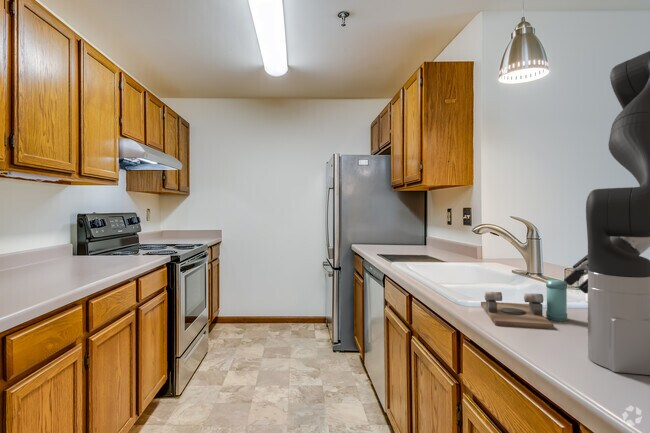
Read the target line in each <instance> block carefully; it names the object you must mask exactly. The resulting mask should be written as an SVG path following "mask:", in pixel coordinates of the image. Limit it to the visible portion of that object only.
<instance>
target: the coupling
mask: <svg viewBox="0 0 650 433" xmlns="http://www.w3.org/2000/svg"><path fill="white" fill-rule="evenodd" d="M545 287H546V311H545V317H546V319H548V320H550V321H551V320H552V321H557V322H566V321H568V312H567V305H568V303H567V301H568V300H567V294H568V292H567V291H568V290H567V289H568V284H567V282H566V281H564V280H563V279H562V280H561V279H547V280H546V281H545Z"/></svg>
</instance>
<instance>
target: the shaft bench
mask: <svg viewBox="0 0 650 433" xmlns="http://www.w3.org/2000/svg"><path fill="white" fill-rule="evenodd" d="M502 301H503V294H502V291H484V301H481V302H480V306H481V307H482V309H483V311H484V312H485V313H486V315H487V316H488V317H489V319H490V320H491V321H492V323H493V325H494V326H500V327H501V326H502V327H514V328H515V327H518V328H532V329H533V328H536V329H546V330H547V329H548V330H550V329H552V330H553V329H554V323H553V322H551V320H550V319H548V318H547V317H546V316H544V314H543V303H544V294H542V293H534V292H533V293H528V292H524V294H523V301H524V302H525V303H519V302H518V303H517V302H513V303H512V302H502Z"/></svg>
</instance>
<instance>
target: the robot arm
mask: <svg viewBox="0 0 650 433" xmlns="http://www.w3.org/2000/svg"><path fill="white" fill-rule="evenodd" d="M609 79H610V80H609V81H610V85H611V89H612V91H613V93H614V95H615V97H616V99H617V101H618V103H619V106H621V108H622V110H621V111H620V112H619V114H617V115H616V117H615V118H614V121H613V122H612V124H611V129H610V134H609V139H608V150H609V153H610V155H611V156H612V157H613V158H614V160H616V162H618V164H619V165H621V166H622V167H623V168H625V169H626V170H627V171H628V172H629V173H631V174H630V175H632V176H633V177H634V179H635V180H636V181H637V183H638V184H639V186H634V187H633V186H631V187H629V186H628V187H627V186H626V187H610V188H609V187H608V188H596V189H593V190H592V191H590V192H589V194H588V195H587V198H586V203H585V221H586V233H587V234H586V235H587V254H586V255H585V256H584V257H582V258H581V259H579V260H578V262H576V263H575V264H573V265H572V268H573V271H571V273H569V274H568V275H567V276H565V278H564V279H563V281H566V282H567V286H570V287H571V286H573V285H574V284H575V283H576V282H578V281H579V280H580V279H581V278H582V277H584V275H587V274H588V279H587V280H585V281H584V280H583V282H582V283H580V285H579V284H578V286H577V287H578V289H579V290H580V291H581V292H582V293H583V294H585V293H588V303H587V358H588V360H590V361H591V362H593V363H594V364H597V365H599V366H601V367H603V368H606V369H608V370H610V371H612V372H614V373H623V374H634V375H645V376H646V375H647V376H648V375H649V376H650V259H649V258H646V257H644V256H641V255H642V254H643V253H645V252H646V251H647V250H648V249H649V248H650V50H648V51H645V52H644V53H641V54H639V55H636V56H635V57H632V58H630V59H627V60H625V61H623V62H620V63H619V64H617V65H615V66H614V67H613V68H612V69H611V71H610V75H609Z"/></svg>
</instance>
